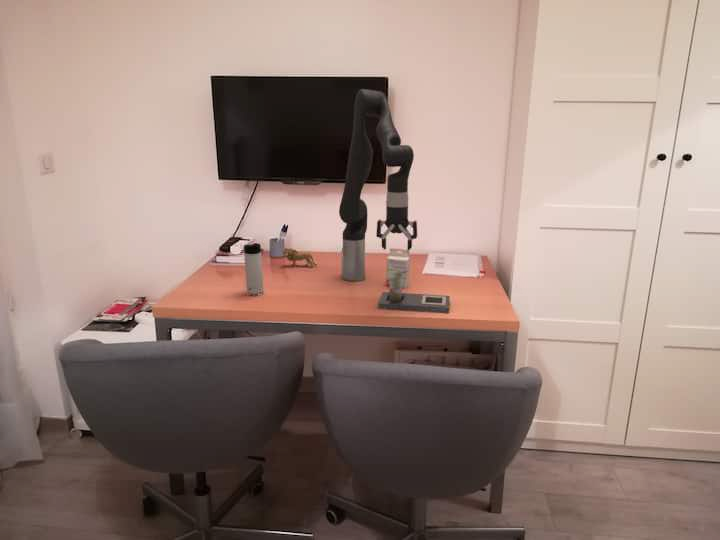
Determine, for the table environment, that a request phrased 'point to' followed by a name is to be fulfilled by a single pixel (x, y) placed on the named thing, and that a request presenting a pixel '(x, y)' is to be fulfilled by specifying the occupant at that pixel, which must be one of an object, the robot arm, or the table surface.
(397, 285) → the peg
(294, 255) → the lion figurine
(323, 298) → the table surface
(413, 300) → the grey flat plate
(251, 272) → the travel mug
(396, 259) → the ink cartridge box
